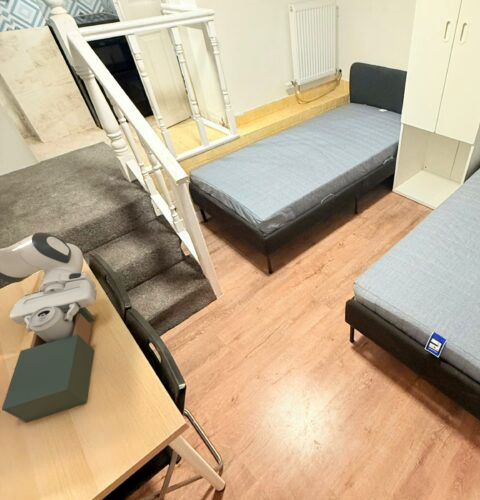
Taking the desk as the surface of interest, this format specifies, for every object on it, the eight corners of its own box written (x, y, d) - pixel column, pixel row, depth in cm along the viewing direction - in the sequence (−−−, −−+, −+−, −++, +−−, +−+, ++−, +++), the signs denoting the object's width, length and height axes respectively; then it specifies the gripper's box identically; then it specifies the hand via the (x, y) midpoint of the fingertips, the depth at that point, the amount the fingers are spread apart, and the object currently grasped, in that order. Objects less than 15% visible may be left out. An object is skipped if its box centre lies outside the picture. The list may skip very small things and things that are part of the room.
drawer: (51, 327, 100) (36, 314, 95) (96, 315, 103) (84, 301, 98) (38, 374, 89) (21, 363, 85) (88, 359, 92) (75, 347, 87)
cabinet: (41, 365, 92) (20, 350, 86) (94, 350, 95) (78, 334, 89) (26, 422, 82) (1, 409, 76) (86, 403, 85) (67, 389, 79)
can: (83, 324, 99) (59, 299, 91) (80, 345, 94) (54, 321, 86) (55, 332, 97) (28, 308, 89) (50, 354, 92) (21, 331, 84)
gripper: (12, 290, 94) (-4, 330, 85) (91, 271, 99) (83, 307, 89) (26, 303, 99) (13, 343, 89) (101, 284, 103) (95, 320, 94)
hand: (49, 325), depth 89 cm, fingers closed on can, 7 cm apart
